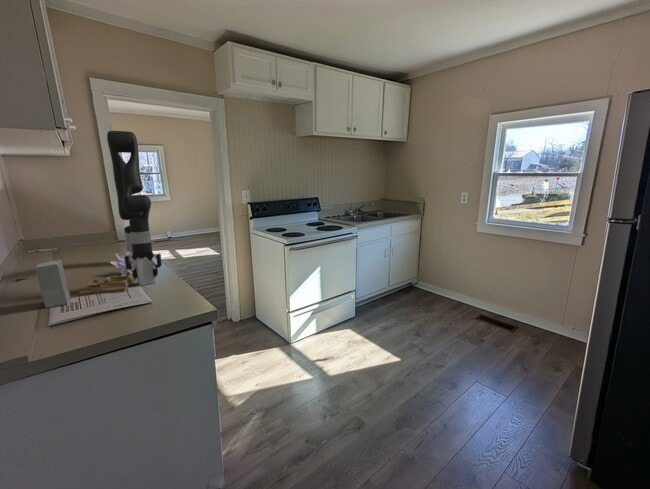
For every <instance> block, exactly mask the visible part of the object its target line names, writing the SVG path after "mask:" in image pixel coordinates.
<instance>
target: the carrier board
mask: <svg viewBox="0 0 650 489" xmlns="http://www.w3.org/2000/svg"><path fill="white" fill-rule="evenodd" d="M100 280H102V282H101V283H100V284H99V285H100V286H98V287H89V286H88V285H86V286H85V287H84V288H83V289H81V290H80V291H79V292H78V295H79V296H85V295H86V296H87V295H97V294H99V293H101V294H108V293H107V292H113V293H119V292H118V291H124V292H126V291H127V289H128V288H129V287H131V285H132V284H133V283H135V282H136V280H137V278H134V277H133V275H132V274H131V275H130V274H129V275H126V276H122V275H115V276H114V275H113V276H107V277H106V278H103V279H102V278H101V279H100Z"/></svg>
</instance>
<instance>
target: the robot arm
mask: <svg viewBox="0 0 650 489" xmlns="http://www.w3.org/2000/svg"><path fill="white" fill-rule="evenodd" d="M106 141H107V145H108V150H109V155H110V157H111V162H112V171H113V179H114V184H115V189H116V194H117V196H116V197H117V204H118V206H117V208H118V215H119V218H120V219H121V220H123V221H129V225H128V226H125V227H124V230H123V231H124V236H125V243H126V249H127V250H126V253H127V252H128V251H130V252H131V253H133V255H130V256H129V255H127V256H126V255H124V257H125V263H126V269H130V270H132V274H131V275H133V277H134V278H136V279H137V273H136V266H137V265H136V261H135V263H134V265H133V266H131V262H132V261H131V262H130V260H131V258H133V260H135V259H141V258H144V260H145V261H146V262H147V263H148V264H149V265H150V266H151V267H152V268H153V275H154V278H156V277H157V276H158V275H159V273H158V268H161V267H162V254H161V253H154V252H153V246H152V239H151V238H152V236H151V232H150V226H149V224H150V223H149V217H150V216H149V215H150V211H151V205H152V201H151V198H150V197H149V196H147V195H146V194H140V193H141V192H142V191H143V189H144V188H143V187H144V186H143V182H142V177H141V171H140V157H139V156H140V154H139V145H138V140H137V137H136V134H135V133H134V132H133V131H127V130H126V131H125V130H108V131H107V134H106ZM120 153H124V154H125V153H128V154H130V156H129V159H128V161H127V163H126V161H125V160H124V159H123V158H122V157H121V155H120ZM153 258H154V259H156V263H155V261H154V260H153ZM151 259H152V262H151Z"/></svg>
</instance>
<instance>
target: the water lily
mask: <svg viewBox="0 0 650 489" xmlns="http://www.w3.org/2000/svg"><path fill="white" fill-rule="evenodd" d="M127 255H129V256H130V255H133V253H131V252H130V251H128V252H127V251H126V254H125V255H122V254H120V253H116V252H115V256H116V258H117V259H118V260H111V261H109V263H110V264H112V265H114V267H115V268H118V269H119V268H120V269H122V270H121V272H120V273H121V276H127V274H128V273H130V274H131V275H132V270H130V269H126V263H125V256H127ZM131 261H132V262H131ZM130 262H131V266H133V265H134V263H135V260H133V258H131V260H130Z"/></svg>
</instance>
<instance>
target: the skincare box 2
mask: <svg viewBox="0 0 650 489" xmlns="http://www.w3.org/2000/svg"><path fill="white" fill-rule="evenodd" d="M152 260H153V258H152V259H151V262H152ZM135 261H136V265H137V266H136V273H137V278H136V280H137V284H138V285H139V286H146V285H151V284H155V283H156V281H155V277H154V275H153V268H152V267H151V266H150V265H149V264H148V263H147V262H146V261H145V260H144V258H141V259H135Z"/></svg>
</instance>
